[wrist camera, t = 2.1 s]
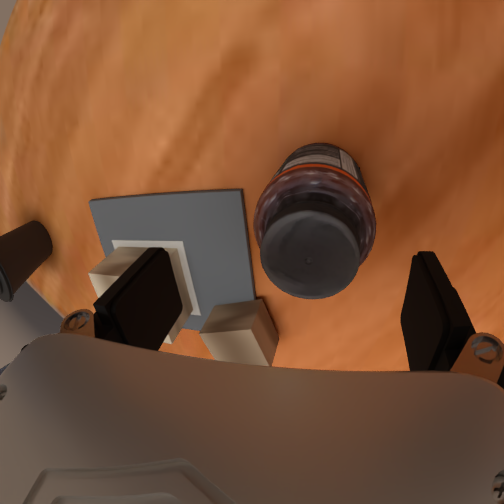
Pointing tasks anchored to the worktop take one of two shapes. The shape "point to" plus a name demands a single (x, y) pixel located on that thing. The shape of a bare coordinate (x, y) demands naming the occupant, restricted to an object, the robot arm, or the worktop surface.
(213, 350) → the oak block
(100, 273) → the maple block
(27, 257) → the coffee cup
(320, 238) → the supplement bottle
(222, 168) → the worktop surface
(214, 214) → the slate mat
